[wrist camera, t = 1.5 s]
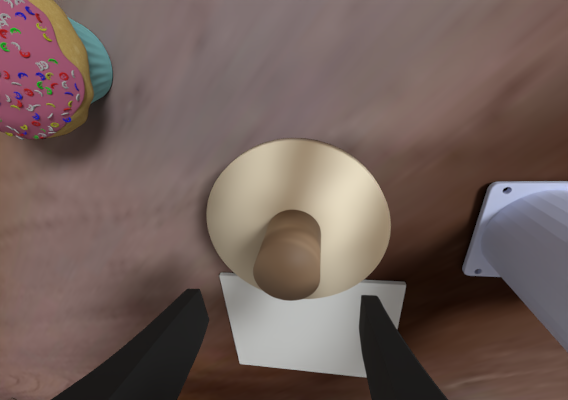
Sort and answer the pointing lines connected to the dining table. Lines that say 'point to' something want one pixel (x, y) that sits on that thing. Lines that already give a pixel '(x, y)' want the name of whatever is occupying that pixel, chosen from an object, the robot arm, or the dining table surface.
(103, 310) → the dining table surface
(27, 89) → the cupcake
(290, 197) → the lid
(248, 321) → the mat
